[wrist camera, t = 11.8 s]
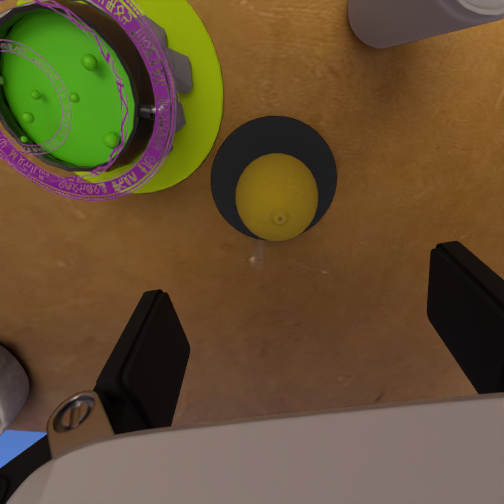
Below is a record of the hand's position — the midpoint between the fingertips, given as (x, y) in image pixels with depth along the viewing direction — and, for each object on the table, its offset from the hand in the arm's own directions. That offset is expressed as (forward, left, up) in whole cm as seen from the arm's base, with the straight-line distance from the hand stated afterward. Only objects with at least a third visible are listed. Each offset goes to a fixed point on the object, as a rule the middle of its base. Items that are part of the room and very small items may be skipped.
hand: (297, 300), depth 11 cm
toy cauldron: (-12, -5, -16) cm, 21 cm away
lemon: (0, 0, -16) cm, 16 cm away
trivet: (0, 0, -16) cm, 16 cm away
